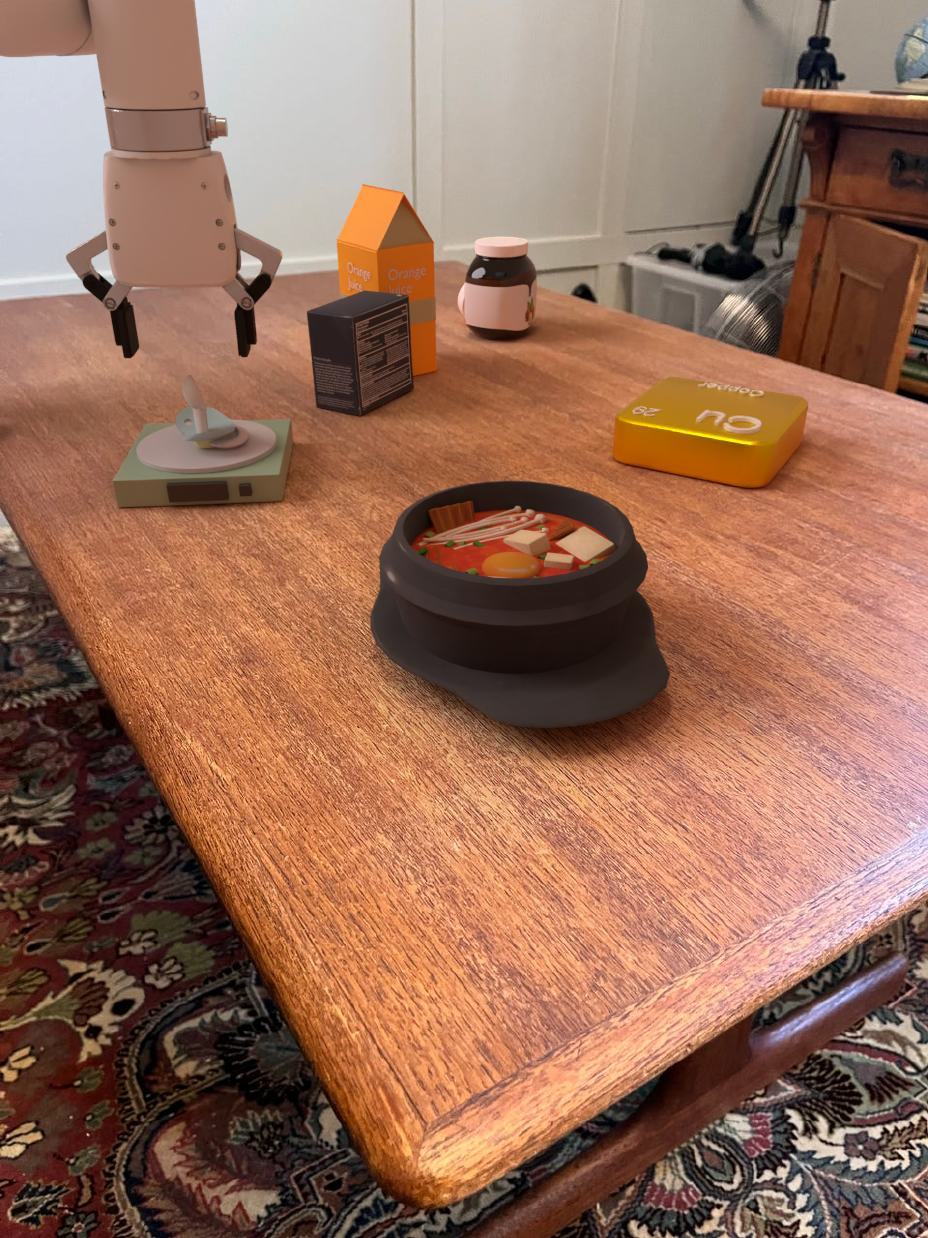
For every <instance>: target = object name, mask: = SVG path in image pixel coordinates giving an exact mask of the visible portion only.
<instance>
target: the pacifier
mask: <svg viewBox="0 0 928 1238" xmlns="http://www.w3.org/2000/svg"><path fill="white" fill-rule="evenodd" d="M181 393H182V397H183V399H184V400H185V401H186V403H187V404H188V406H186V407H184V408H182V409H181V410H179V412H178V413H177V414H176V417H175V419H174V420H175V421H174V423H176V426H177V429H178V430H179V432H180V433H182V434H183V435H185V436H184V437H183V439H184V441H193V443H194V445H195V446H196V447H198V448H214V447H217V448H232V447H236V446H239V445H241V444H243V443H244V442H246V440H247V439H248V432H247V430H246V429H245V428H244V427H243V426H241V425H239V424H236V423H233V422H232V421H231V420H230V419H231V418H229V417H228V416H227V415H225V414H224V413H223V412H221V411H220V410H217V409H215V408H213V407H209V406H207V405H206V402H205V399H204V397H203V394H202V392H201V390H200V388H199V385H198V383H197V382H196V381H195V379H194V377H193V375H191V374H188V375H186V376H185V377H184V378H183V380H182V383H181ZM186 422H192V423H193V425H186V424H185V423H186ZM233 431H234V432H236V433H237V434H238V436H237V437H235V438H233V439H230V440H222V436H224V435H227V434H229V433H231V432H233Z"/></svg>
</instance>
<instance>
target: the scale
mask: <svg viewBox="0 0 928 1238" xmlns="http://www.w3.org/2000/svg"><path fill="white" fill-rule="evenodd" d="M229 419H230V420H231V421H232V422H233V423H236V424H239V425H241V426H243V427H244V428H245V429H246V430H247V432H248V439H247V440H246V442H244V443H243V444H241V445H239V446H236V447H232V448H217V447H214V448H198V447H196V446H195V445H194V443H193V441H184V439H183V437H184V436H185V435H183V434H182V433H180V432H179V430H178V429H177V426H176V422H159V423H158V422H157V423H155V422H154V423H144V425H143V427H142V429H141V431H140V432H139V434H138V435H137V437H136V439H135V441H134V443H133V444H132V446H131V447H130V450H129V451H128V453H127V455H126V457H125V458H124V460H123V462H122V464H121V465H120V467H119V469H118V471H117V472H116V474H115V476H114V477H113V479H112V486H113V490H114V497H115V500H116V505H117V508H141V507H142V508H143V507H165V506H166V507H167V506H169V507H170V506H191V505H214V504H215V505H217V504H220V505H221V504H242V503H265V502H268V503H269V502H270V503H271V502H283V500H284V494H285V491H286V490H285V489H286V485H287V478H288V473H289V467H290V463H291V458H292V453H293V446H294V436H293V435H294V433H293V426H292V425H293V424H292V419H291V418H277V419H275V418H274V419H272V418H271V419H249V420H246V419H245V420H244V419H235V418H234V419H233V418H229ZM185 424H186V425H193V423H192V422H186V423H185ZM237 436H238V434H237V433H236V432H234V431H233V432H231V433H229V434H227V435H224V436H222V440H230V439H233V438H235V437H237Z"/></svg>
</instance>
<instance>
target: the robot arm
mask: <svg viewBox="0 0 928 1238" xmlns="http://www.w3.org/2000/svg"><path fill="white" fill-rule="evenodd" d="M197 19H198V18H197V9H196V0H0V57H5V58H31V57H54V56H55V57H77V56H78V57H79V56H92V55H95V56H96V60H97V67H98V74H99V80H100V86H101V91H102V92H101V93H102V98H103V106H104V113H105V119H106V126H107V133H108V138H109V139H108V140H109V144H110V150H109V151H106V152H105V153H103V160H102V161H103V162H102V192H103V193H102V194H103V210H104V225H105V230H103V231H102V232H100V233H98V234H97V235H95V236H93V237H91V238H90V239H88V240H86V241H85V242H83V243H81V244H80V245H78V246H75V247H74V248H73V249H71V250H70V251H68V252H67V253H66V255H65V259H66V262H67V263H68V264H69V266H70V267H71V269H72V271H73V272H74V273H75V275H76V276H77V277H78V278H79V279H80V280H81V282H82V286H83V287H84V288H85V289H86V291H88V292H89V293H90V294H91V295H93V296H94V298H96V299H97V300H99V301H100V302H101V303H102V305H103V307H104V308H105V309H106V310H107V311H109V314H110V320H111V326H112V332H113V336H114V343H115V345H116V346H117V347H121V349H122V355H123V356H122V357H123V358H124V359H132V358H133V357H135V355H136V354H137V352H138V351H139V349H140V341H139V335H138V329H137V324H136V323H137V322H136V316H135V310H134V305H133V304H131V301H129V300H128V295H129V294H130V292H131V291H132V289H133V288H145V289H146V288H151V289H153V288H154V289H155V288H156V289H158V288H160V289H164V288H165V289H166V288H173V289H177V288H178V289H179V288H183V289H184V288H220V287H222V289H223V290H224V291H225V292H226V293H227V294H228V295H229V296H230V297H231V298H232V299H233V300H234V302H236V307H235V309H234V312H233V314H234V326H235V334H236V344H237V352H238V356H239V357H240V358H248V357H249V354H250V351H251V349H252V346H253V345H254V346H255V345H257V344H258V335H257V325H256V314H255V313H256V312H255V305H256V304H257V303H258V302H259V300H260V299H261V298H263V296H264V295H265V293H267V291H269V289H270V288H271V286H272V284H273V281H274V279H275V277H276V274H277V272H278V270H279V267H280V265H281V263H282V260H283V256H284V255H283V252H282V250H280V249H279V248H277V247H276V246H273V245H271V244H269V243H267V242H265V241H263V240H261V239H259V238H257V237H255V235H254V236H253V235H251V234H250V233H248V232H245V231H244V230H242V229H240V228H238V221H237V215H236V209H235V203H234V197H233V193H232V188H231V182H230V178H229V174H228V169H227V166H226V163H225V160H224V159H225V158H224V157H223V153H222V151H220V150H212V146H211V145H212V144H213V142H214V141H215V140H218V139H219V137H228V136H229V128H228V127H229V125H228V120H227V117H217V116H216V115H213V114H212V112H209V107H208V106H207V103H206V102H207V101H206V93H205V84H204V72H203V63H202V54H201V45H200V37H199V28H198V20H197ZM106 250H107V253H108V260H109V266H110V271H111V273H112V276H113V278H114V279H115V281H114V283H113V284H112V283H111V282H109V280H107V278H105V277H104V276H103V275H101V273H99V272H98V271H97V269H95V266H94V265H93V263H92V259H93V258H95V257H97V256H99V255H100V254H102V253H104V252H106ZM241 252H244V253H246V254H248V255H250V256H251V257H253V258H255V259H258V260H259V261H260V262H261V268H260V271H259V274H258V275H257V276H256V277H255V278H254V279H253V281H251V283H249V282H248V281H247V280H246V279H245V278H244V276H242V274H240V271H241V269H242V253H241Z"/></svg>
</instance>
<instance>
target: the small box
mask: <svg viewBox="0 0 928 1238" xmlns="http://www.w3.org/2000/svg"><path fill="white" fill-rule="evenodd" d="M306 319H307V328H308V336H309V346H310V359H311V365H312V366H311V367H312V377H313V386H314V396H315V406H316V408H319V409H324V410H328V411H329V410H330V411H334V412H338V413H345V414H349V415H354V416H359V417H360V416H363V415H365V414H367V413H369V412H371V411H373V410H375V409H377V408H380V407H381V406H383V405H385V404H386V403H389V402H391V401H392V400H394V399H396V398H398V397H400V396H402V395H404V394H406V393H408V392H411V391H413V390H414V389H415V382H414V376H413V369H412V352H411V331H410V314H409V295H403V294H394V293H384V292H374V291H365V290H364V291H361V292H359V293H356V294H353V295H350V296H348V297H345V298H342V299H340V298H339V299H337V300H334V301H331V302H328V303H326V304H322V305H319V306H318V307H314V308H312V309H308V310H307V311H306Z"/></svg>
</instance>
